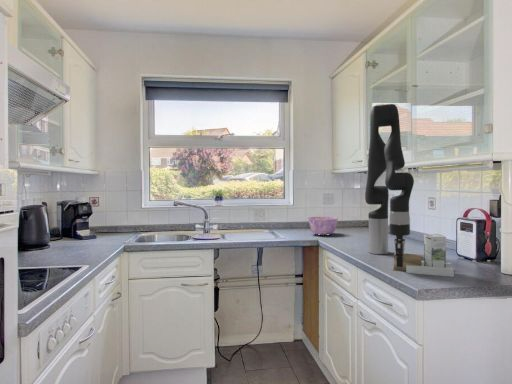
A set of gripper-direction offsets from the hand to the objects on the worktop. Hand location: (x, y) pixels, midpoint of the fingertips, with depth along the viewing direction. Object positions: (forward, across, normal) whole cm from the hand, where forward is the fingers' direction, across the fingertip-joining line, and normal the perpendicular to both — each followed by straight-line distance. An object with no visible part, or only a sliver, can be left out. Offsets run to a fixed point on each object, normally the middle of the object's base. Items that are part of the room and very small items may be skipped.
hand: (399, 265), depth 145 cm
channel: (+2, 0, +8) cm, 8 cm away
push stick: (+1, 0, +3) cm, 3 cm away
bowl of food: (+2, -87, -52) cm, 102 cm away
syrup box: (+2, 0, +12) cm, 13 cm away
